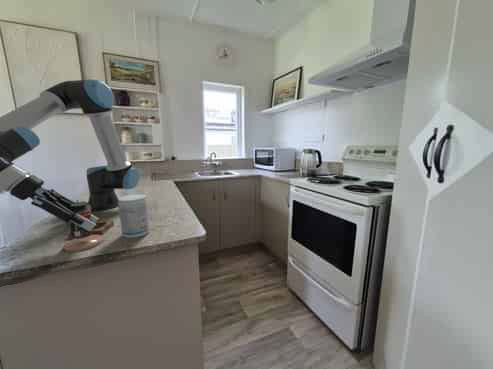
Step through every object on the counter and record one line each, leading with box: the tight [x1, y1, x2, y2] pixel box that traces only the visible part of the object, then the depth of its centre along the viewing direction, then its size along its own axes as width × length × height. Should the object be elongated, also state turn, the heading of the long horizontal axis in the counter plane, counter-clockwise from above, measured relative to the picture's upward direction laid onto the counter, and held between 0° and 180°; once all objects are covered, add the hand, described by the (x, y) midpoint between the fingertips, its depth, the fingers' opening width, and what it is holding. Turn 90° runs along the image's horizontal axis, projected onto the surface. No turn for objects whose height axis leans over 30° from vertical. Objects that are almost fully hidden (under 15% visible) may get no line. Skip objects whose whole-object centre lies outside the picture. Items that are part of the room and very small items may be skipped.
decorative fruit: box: [74, 199, 92, 214], centre depth 95 cm, size 9×8×10 cm
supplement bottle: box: [68, 203, 94, 239], centre depth 71 cm, size 6×6×11 cm
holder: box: [67, 220, 115, 239], centre depth 84 cm, size 11×11×2 cm
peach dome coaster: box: [63, 235, 105, 253], centre depth 73 cm, size 11×11×1 cm
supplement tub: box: [117, 194, 150, 239], centre depth 80 cm, size 10×10×15 cm
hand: (94, 224), depth 73 cm, fingers closed on supplement bottle, 6 cm apart
